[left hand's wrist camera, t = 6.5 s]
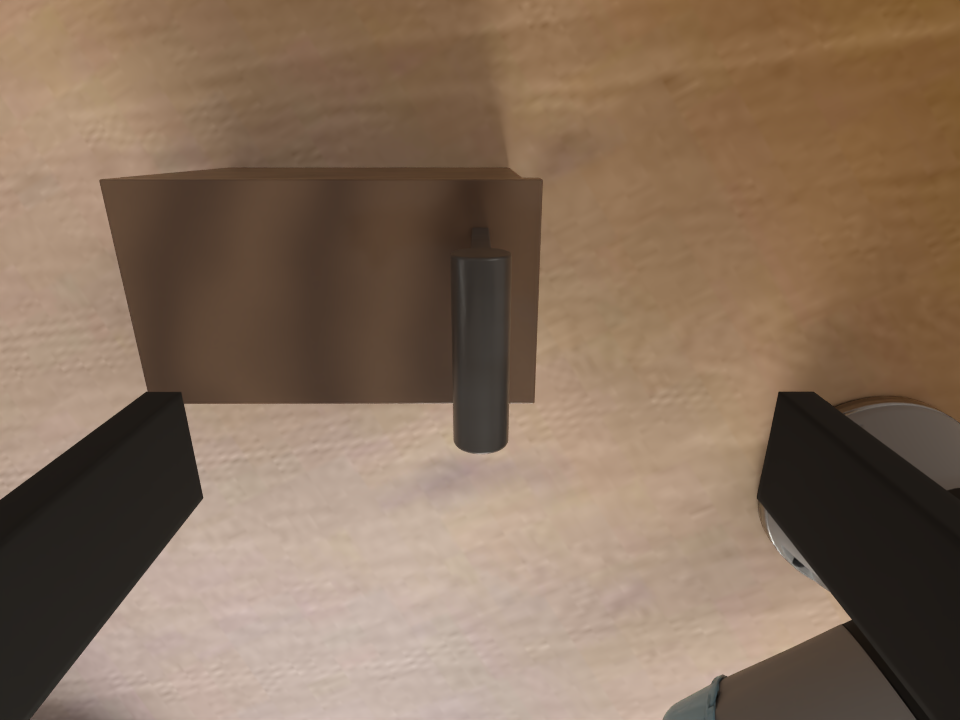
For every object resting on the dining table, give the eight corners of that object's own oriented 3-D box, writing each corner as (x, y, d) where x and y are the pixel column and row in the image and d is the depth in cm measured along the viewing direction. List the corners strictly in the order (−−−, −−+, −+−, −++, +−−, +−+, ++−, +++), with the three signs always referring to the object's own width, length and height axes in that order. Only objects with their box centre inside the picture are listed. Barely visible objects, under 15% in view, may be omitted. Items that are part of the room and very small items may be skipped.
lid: (539, 177, 24) (572, 195, 16) (532, 392, 28) (554, 500, 19) (117, 177, 24) (-76, 195, 16) (164, 392, 27) (27, 500, 19)
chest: (509, 167, 34) (522, 177, 24) (506, 324, 38) (517, 392, 28) (227, 167, 34) (118, 177, 24) (251, 324, 38) (165, 392, 28)
